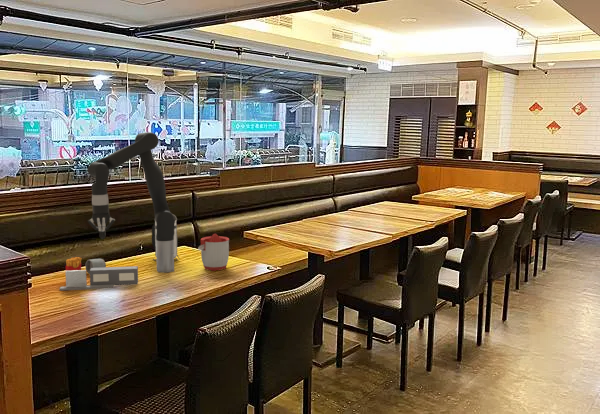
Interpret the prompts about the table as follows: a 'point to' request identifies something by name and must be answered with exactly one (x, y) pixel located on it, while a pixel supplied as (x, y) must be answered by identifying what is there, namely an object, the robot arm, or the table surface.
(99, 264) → the ceramic mug
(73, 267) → the french fries
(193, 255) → the table surface
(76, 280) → the sliding shutter
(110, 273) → the grey box with rod
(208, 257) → the citrus juicer
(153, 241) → the coffee press
